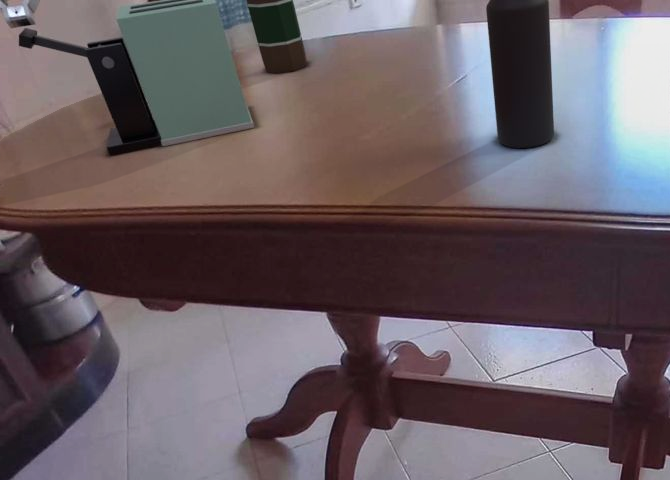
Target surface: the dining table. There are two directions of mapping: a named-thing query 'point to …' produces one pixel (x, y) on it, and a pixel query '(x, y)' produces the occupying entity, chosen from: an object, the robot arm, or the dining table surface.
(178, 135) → the toaster
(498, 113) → the vinegar
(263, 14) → the beer bottle
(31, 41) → the toaster lever
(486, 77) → the dining table surface
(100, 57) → the lever bracket
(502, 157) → the dining table surface
